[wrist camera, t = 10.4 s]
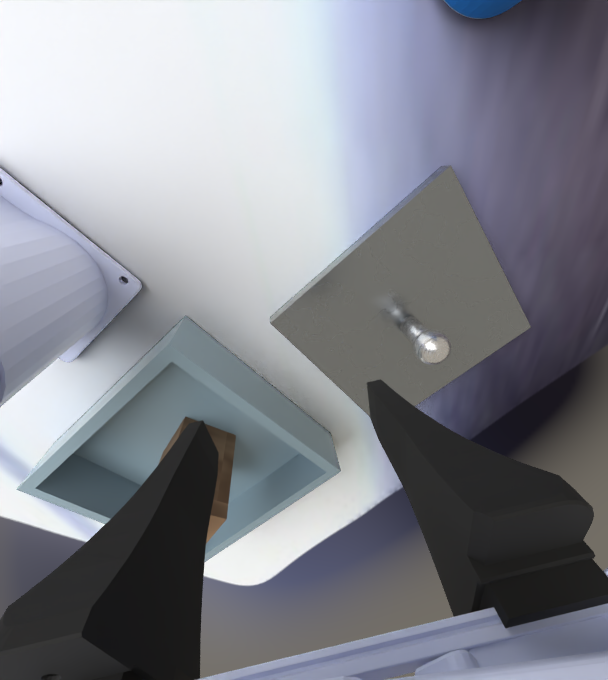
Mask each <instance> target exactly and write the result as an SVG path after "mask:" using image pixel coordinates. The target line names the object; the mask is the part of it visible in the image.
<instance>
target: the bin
mask: <svg viewBox="0 0 608 680" xmlns="http://www.w3.org/2000/svg"><path fill="white" fill-rule="evenodd" d="M185 417H188V418H191V419H194V420H196V421H202V420H203V421H204V423H205V424H207V425H210V426H212V427H215V428H218V429H220V430H223V431H226V432H229V433H231V434H234V435H236V441H235V450H234V459H233V467H232V476H231V485H230V494H229V503H228V512H227V519H226V521H225V522H224V523H223V524H222V525H221V527H220V528H219V529H218V530H217V531H216V533H215V534H214V535H213V536H212V537H211V539H210V540H209V541H208V542H207V543H206V549H205V561H204V562H206V561H207V560H209V559H210V558H212V557H213V556H215V555H216V554H218V553H219V552H221V551H222V550H224V549H225V548H227V547H228V546H230V545H231V544H233V543H234V542H236V541H237V540H239V539H240V538H242V537H243V536H245V535H246V534H248V533H249V532H251V531H252V530H254V529H255V528H257V527H258V526H260V525H261V524H263V523H264V522H266V521H267V520H269V519H270V518H272V517H273V516H275V515H276V514H278V513H279V512H281V511H282V510H284V509H285V508H287V507H288V506H290V505H291V504H293V503H294V502H296V501H297V500H299V499H300V498H302V497H303V496H305V495H306V494H308V493H309V492H311V491H312V490H314V489H315V488H317V487H318V486H320V485H321V484H323V483H324V482H326V481H327V480H329V479H330V478H332V477H333V476H335V475H336V474H338V473H339V472H341V470H340V466H339V462H338V459H337V455H336V451H335V447H334V444H333V440H332V436H331V433H330V432H328V431H327V430H326V429H325V428H323V427H322V426H321V425H320V424H319V423H317V422H316V421H315V420H314V419H312V418H311V417H310V416H309V415H307V414H306V413H305V412H304V411H303V410H301V409H300V408H299V407H298V406H296V405H295V404H294V403H293V402H291V401H290V400H289V399H288V398H287V397H285V396H284V395H283V394H282V393H280V392H279V391H278V390H277V389H275V388H274V387H273V386H272V385H271V384H269V383H268V382H267V381H266V380H264V379H263V378H262V377H261V376H259V375H258V374H257V373H256V372H255V371H253V370H252V369H251V368H250V367H248V366H247V365H246V364H245V363H243V362H242V361H241V360H240V359H239V358H237V357H236V356H235V355H234V354H232V353H231V352H230V351H229V350H227V349H226V348H225V347H224V346H223V345H221V344H220V343H219V342H218V341H216V340H215V339H214V338H213V337H211V336H210V335H209V334H208V333H207V332H205V331H204V330H203V329H202V328H200V327H199V326H198V325H197V324H195V323H194V322H193V321H192V320H191V319H189V318H188V317H187V316H185V317H184V318H183V319H182V320H181V321H180V322H179V323H178V324H177V325H175V326H174V327H173V328H172V329H171V330H170V331H169V332H168V333H167V334H166V335H165V336H164V337H163V338H162V339H161V340H160V341H159V342H158V343H157V344H156V345H155V346H154V347H153V348H152V349H151V350H150V351H149V352H148V353H147V354H146V355H145V356H144V357H142V358H141V359H140V360H139V361H138V362H137V363H136V364H135V365H134V366H133V367H132V368H131V369H130V370H129V371H128V372H127V373H126V374H125V375H124V376H123V377H122V378H121V379H120V380H119V381H118V382H117V383H116V384H115V385H114V386H113V387H112V388H111V389H109V390H108V391H107V392H106V393H105V394H104V395H103V396H102V397H101V398H100V399H99V400H98V401H97V402H96V403H95V404H94V405H93V406H92V407H91V408H90V409H89V410H88V411H87V412H86V413H85V414H84V415H83V416H82V417H81V418H80V419H79V420H78V421H77V422H75V423H74V424H73V425H72V426H71V427H70V428H69V429H68V430H67V431H66V432H65V433H64V434H63V435H62V436H61V437H60V438H59V439H58V440H57V441H56V442H55V443H54V444H53V445H52V446H51V448H50V449H49V450H48V451H47V452H46V454H45V455H44V456H43V457H42V459H41V460H40V461H39V462H38V464H37V465H36V466H35V467H34V468H33V470H32V471H31V472H30V473H29V475H28V476H27V477H26V478H25V480H24V481H23V482H22V483H21V484H20V486H19V487H18V488H17V489H16V490H19V491H22V492H24V493H27V494H29V495H32V496H34V497H37V498H39V499H42V500H45V501H47V502H50V503H52V504H55V505H57V506H60V507H63V508H65V509H68V510H70V511H73V512H75V513H78V514H80V515H83V516H86V517H88V518H91V519H93V520H96V521H98V522H101V523H103V524H106V523H107V522H108V521H109V520H110V519H111V518H112V517H113V516H114V515H115V514H116V513H117V512H118V511H119V510H120V509H121V508H122V507H123V506H124V505H125V504H126V503H127V502H128V501H129V499H130V498H131V497H132V496H133V495H134V494H135V493H136V492H137V490H138V489H139V488H140V487H141V486H142V484H143V483H144V482H145V481H146V479H147V478H148V477H149V476H150V475H151V473H152V472H153V471H154V470H155V468H156V467H157V466H158V464H159V461H160V459H161V456H162V453H163V451H164V450H165V448H166V447H167V445H168V443H169V442H170V440H171V439H172V437H173V435H174V434H175V432H176V431H177V429H178V427H179V426H180V424H181V423H182V421H183V419H184V418H185Z"/></svg>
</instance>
